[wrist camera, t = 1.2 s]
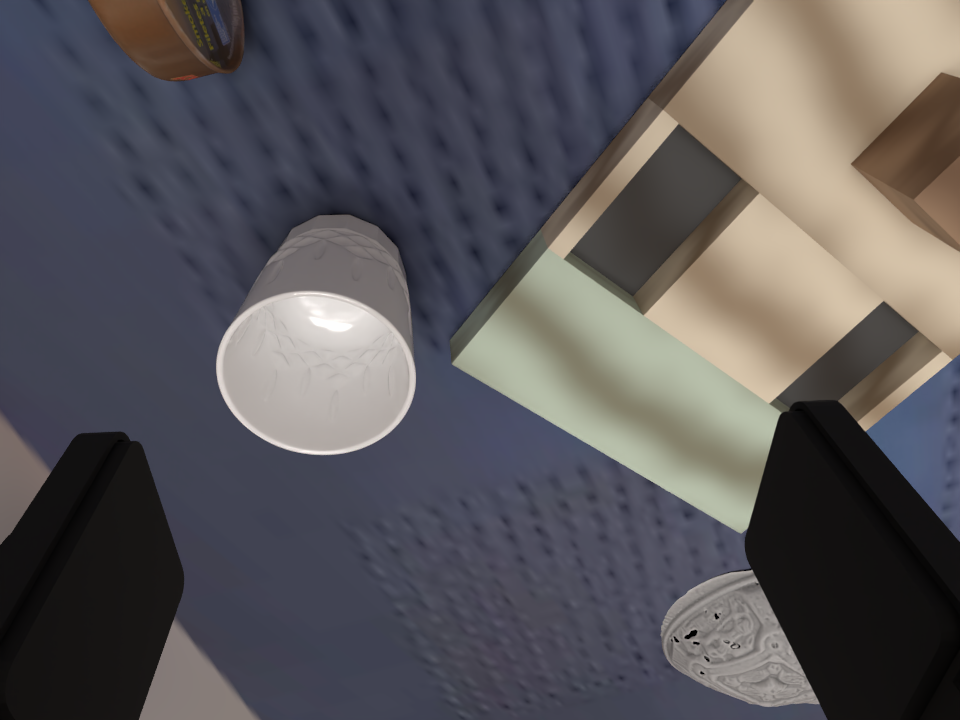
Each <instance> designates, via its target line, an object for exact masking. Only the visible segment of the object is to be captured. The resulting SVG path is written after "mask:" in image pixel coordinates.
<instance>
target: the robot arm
mask: <svg viewBox="0 0 960 720" xmlns="http://www.w3.org/2000/svg"><path fill="white" fill-rule="evenodd" d="M745 552H746V556H747V560H748V562H749V564H750V566H751V568H752V570H753V572H754V574H755V576H756V578H757V580H758V582H759V584H760V586H761V588H762V590H763V592H764V594H765V596H766V598H767V600H768V602H769V604H770V606H771V608H772V610H773V612H774V614H775V616H776V618H777V620H778V622H779V624H780V626H781V628H782V630H783V632H784V634H785V636H786V638H787V640H788V642H789V644H790V646H791V648H792V650H793V652H794V654H795V656H796V658H797V660H798V662H799V664H800V666H801V668H802V670H803V672H804V674H805V676H806V678H807V680H808V682H809V684H810V686H811V688H812V690H813V692H814V694H815V695H816V697H817V699H818V701H819V703H820V705H821V707H822V709H823V711H824V713H825V715H826V717H827V719H828V720H960V542H959V541H958V540H957V538H956V537H955V536H954V535H953V534H952V533H951V531H950V530H949V529H948V528H947V527H946V526H945V524H944V523H943V522H942V521H941V520H940V519H939V517H938V516H937V515H936V514H935V513H934V511H933V510H932V509H931V508H930V507H929V506H928V504H927V503H926V502H925V501H924V500H923V499H922V497H921V496H920V495H919V494H918V493H917V492H916V490H915V489H914V488H913V487H912V486H911V485H910V483H909V482H908V481H907V480H906V479H905V478H904V476H903V475H902V474H901V473H900V472H899V470H898V469H897V468H896V467H895V466H894V465H893V463H892V462H891V461H890V460H889V459H888V458H887V456H886V455H885V454H884V453H883V452H882V451H881V449H880V448H879V447H878V446H877V445H876V444H875V442H874V441H873V440H872V439H871V438H870V437H869V435H868V434H867V433H866V432H865V431H864V430H863V428H862V427H861V426H860V425H859V424H858V422H857V421H856V420H855V419H854V418H853V417H852V415H851V414H850V413H849V412H848V411H847V410H846V408H845V407H844V406H843V405H842V404H841V403H840V402H838V401H836V400H814V401H797V402H795V403H793V404H792V406H791V407H790V409H789V411H785V412H782V413H781V414H780V416H779V418H778V421H777V425H776V428H775V432H774V436H773V439H772V443H771V447H770V450H769V454H768V457H767V461H766V465H765V468H764V472H763V475H762V479H761V483H760V486H759V490H758V494H757V497H756V501H755V504H754V508H753V512H752V515H751V519H750V522H749V526H748V530H747V533H746V537H745ZM183 587H184V572H183V568H182V565H181V562H180V559H179V556H178V553H177V550H176V547H175V544H174V541H173V537H172V534H171V531H170V528H169V525H168V522H167V519H166V516H165V513H164V510H163V507H162V504H161V501H160V498H159V495H158V492H157V489H156V486H155V483H154V480H153V477H152V474H151V471H150V468H149V465H148V462H147V459H146V456H145V453H144V450H143V447H142V445H141V444H140V443H139V442H137V441H130V439H129V437H128V436H127V435H126V434H125V433H124V432H101V433H81V434H79V435H77V436H76V437H75V438H74V439H73V440H72V442H71V443H70V445H69V446H68V448H67V449H66V451H65V452H64V454H63V455H62V457H61V458H60V460H59V461H58V463H57V464H56V466H55V467H54V469H53V470H52V472H51V473H50V475H49V477H48V478H47V480H46V481H45V483H44V484H43V486H42V487H41V489H40V490H39V492H38V493H37V495H36V496H35V498H34V500H33V501H32V502H31V504H30V505H29V507H28V509H27V510H26V511H25V513H24V515H23V516H22V518H21V519H20V521H19V522H18V524H17V525H16V527H15V528H14V530H13V531H12V533H11V534H10V535H9V536H8V537H7V538H6V539H5V540H4V541H3V542H2V544H1V545H0V720H139V717H140V714H141V711H142V709H143V705H144V703H145V700H146V697H147V694H148V691H149V688H150V686H151V682H152V680H153V677H154V674H155V671H156V668H157V665H158V663H159V660H160V657H161V654H162V651H163V648H164V645H165V643H166V640H167V637H168V634H169V631H170V628H171V625H172V622H173V620H174V617H175V614H176V611H177V608H178V605H179V602H180V600H181V597H182V593H183Z"/></svg>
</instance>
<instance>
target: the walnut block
mask: <svg viewBox="0 0 960 720" xmlns="http://www.w3.org/2000/svg"><path fill="white" fill-rule="evenodd" d="M851 165H852V166H853V167H854V168H855V169H856V170H857V171H858V172H859V173H861V174H862V175H863V176H864V177H865V178H866V179H867V180H868V181H869V182H870V183H871V184H872V185H873V186H874V187H875V188H876V189H877V190H878V191H879V192H880V193H881V194H883V195H884V196H885V197H886V198H887V199H888V200H889V201H890V202H891V203H892V204H893V205H894V206H895V207H896V208H897V209H898V210H899V211H900V212H901V213H902V214H903V215H904V216H906V217H907V218H908V219H909V220H910V221H911V222H912V223H913V224H915V225H917V226H918V227H920V228H921V229H923V230H925V231H926V232H928V233H930V234H931V235H933V236H934V237H936V238H938V239H939V240H941V241H942V242H944V243H946V244H947V245H949V246H951V247H952V248H954V249H955V250H957V251H959V252H960V78H959V77H955V76H952V75H949V74H945V73H942V72H941V73H940V74H939V75H938V76H937V77H936V78H935V79H934V80H933V81H932V82H931V83H930V84H929V85H928V86H927V87H926V88H925V89H924V90H923V91H922V92H921V93H920V94H919V95H918V96H917V97H916V98H915V99H914V100H913V101H912V102H911V103H910V104H909V105H908V106H907V107H906V108H905V109H904V110H903V111H902V112H901V113H900V114H899V116H898V117H897V118H896V119H895V120H894V121H893V122H892V123H891V124H890V125H889V126H888V127H887V128H886V129H885V130H884V131H883V132H882V133H881V134H880V135H879V136H878V137H877V138H876V139H875V140H874V141H873V142H872V143H871V144H870V145H869V146H868V147H867V148H866V149H865V150H864V151H863V152H862V153H861V154H860V155H859V156H858V157H857V158H856V159H855V160H854V161H853V162H852V163H851Z"/></svg>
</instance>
